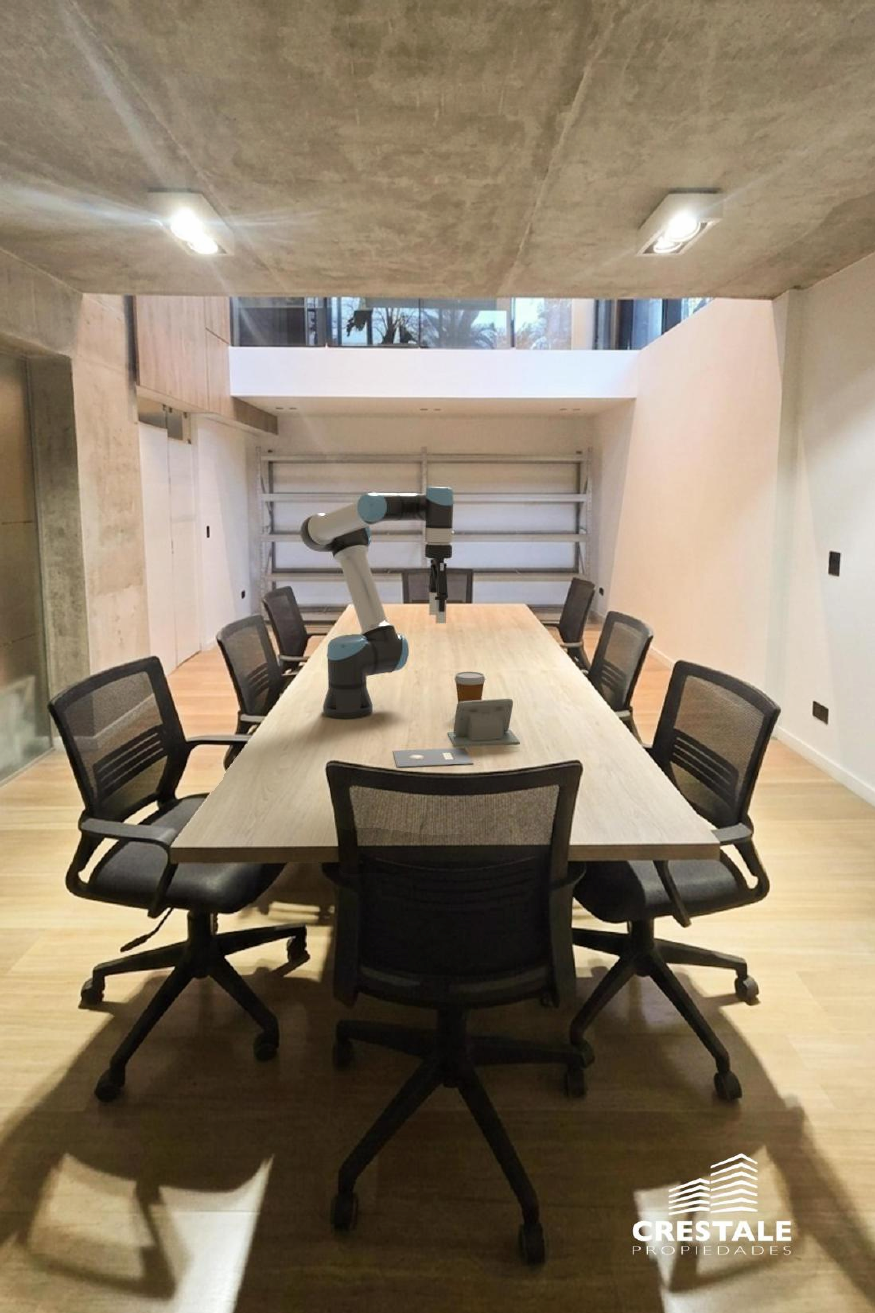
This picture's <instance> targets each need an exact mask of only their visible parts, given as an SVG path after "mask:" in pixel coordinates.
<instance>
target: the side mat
mask: <svg viewBox="0 0 875 1313" xmlns="http://www.w3.org/2000/svg"><path fill="white" fill-rule="evenodd" d="M447 735H448V736H447V737H450V738H449V740H450V742H451V741H452V742H451V743H452V745H453V747H465V746H467V747H468V746H470V747H471V746H472V745H473V746H494V745H517V744H519V745H520V743H521V741H520V740H519V739H518V737H517V736H516V735H515V733H514V732H513V731H512V730H511V729H508V731H507V732H506V733H503V739H497V740H484V741H471V740H470V739H469V738H468V737H467V736H456V735H455V734H454V732H453V731H448V732H447Z"/></svg>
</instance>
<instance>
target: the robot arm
mask: <svg viewBox="0 0 875 1313" xmlns="http://www.w3.org/2000/svg"><path fill="white" fill-rule="evenodd" d="M453 518H454V490H453V489H452V488H451V487H449V486H448V487H447V486H446V487H445V486H443V487H441V486H440V487H439V486H428V487H426V490H425V493H415V492H412V493H411V492H407V493H404V492H403V493H394V492H393V493H388V492H387V493H386V492H385V493H383V492H382V493H379V492H371V493H369V492H368V493H364V494H362V495H361V496H360V498H359V499H358V500H357V501H355V502H353V503H350V504H348V505H345V506H343V507H340V508H338V509H335V510H333V511H331V512H327V513H316V514H314V515H310V516H309V517H307V518H305V520H303V522H302V524H301V526H300V529H299V530H300V532H299V533H300V538H301V541H302V543H303V544H304V545H305V546H306V547H308V548H309V549H310V550H312V551H315V552H319V553H326V552H327V553H329V552H331V554H332V557H333V560H334V561H335V562H337V563H339V564H340V566H341V570H342V573H343V577H344V578H345V579H344V580H345V582H346V585H347V588H348V591H349V595H350V598H351V600H352V604H353V607H354V610H355V613H356V616H357V619H358V623H359V625H360V630H361V632H360V634H359V633H351V634H345V635H344V634H343V635H340V636H336V637H334V638H332V639H331V640H330V641H329V642H328V644H327V652H326V658H327V680H328V681H327V682H328V683H327V686H328V687H327V692H326V695H325V698H324V702H323V704H322V712H323V715H325V716H327V717H329V718H333V719H344V720H345V719H348V720H349V719H358V718H364V717H367V716H370V715H371V714H372V713H373V710H374V709H373V702H372V699H371V697H370V693H369V691H368V687H367V686H368V685H367V678H368V676H375V675H380V674H381V675H382V674H385V673H386V674H387V673H389V674H390V673H393V672H397V671H400V670H402V669H403V667H405V666H406V664H407V663H408V659H409V655H410V650H409V642H408V640H407V638H406V637H405V636H404V634H402V633H397V632H396V628H395V625H393V624H392V623H389V622H388V619H387V616H386V613H385V610H384V607H383V604H382V600H381V598H380V594H379V592H378V589H377V586H376V582H375V579H374V576H373V573H372V571H371V567H370V564H369V561H368V558H367V554H368V552H369V546H370V545H371V543H372V542H371V541H372V538H371V536H372V532H371V527H370V526H372V525H375V524H379V523H381V522H382V523H383V522H394V521H395V522H397V521H399V522H400V521H403V522H404V521H407V522H408V521H417V522H419V521H422V522H423V521H424V522H425V525H424V526H425V527H424V529H425V530H424V541H425V543H426V544H425V545H424V556H425V558H428V559H430V560H429V562H430V566H429V567H430V568H429V570H430V571H429V580H428V587H427V588H428V590H429V601H428V602H429V607H428V608H429V612H428V613H429V614H428V615H429V616H435V624H446V623H447V599H448V598H449V595H448V594H449V593H448V576H447V575H448V574H447V567H448V565H447V563H445V559H451V558H452V556H453V545H452V544H451V543H452V542H453V536H454V535H455V531H453V523H454V522H453V520H454V519H453Z"/></svg>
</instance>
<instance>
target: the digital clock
mask: <svg viewBox="0 0 875 1313" xmlns="http://www.w3.org/2000/svg"><path fill="white" fill-rule="evenodd" d="M513 705H514V701H513V699H512V698H494V699H493V698H492V699H491V698H490V699H481V700H475V701H462V702H459V703H458V702H457V704H456V709H455V716H454V724H453V731H452V732H454V734H455V735H456V736H467V737H468V738H469V739H470V740H471V741H484V740H497V739H503V733H506V732H507V731H508V730H510V729H509V728H510V723H511V717H512V711H513V707H514V706H513Z"/></svg>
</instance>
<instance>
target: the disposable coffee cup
mask: <svg viewBox="0 0 875 1313" xmlns="http://www.w3.org/2000/svg"><path fill="white" fill-rule="evenodd" d="M453 680H454V682H455V688H456V695H457V704H458V703H459V702H462V701H475V700H483V699H482V698H483V691H484V684H485V681H486V678H485V675H484V673H482V672H478V671H462V672H461V671H460V672H457V673H455V677H454V678H453Z"/></svg>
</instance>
